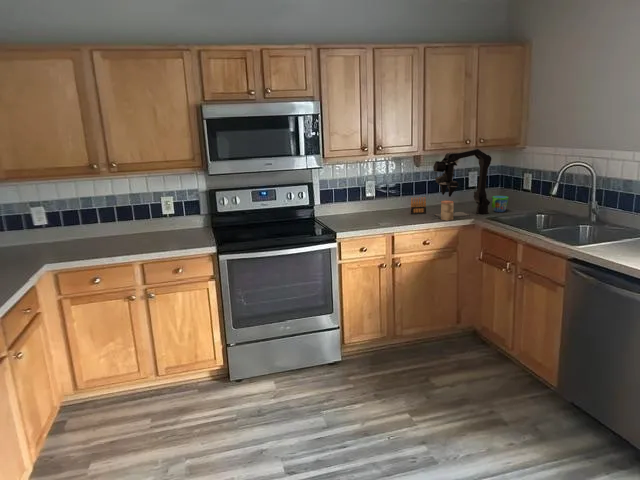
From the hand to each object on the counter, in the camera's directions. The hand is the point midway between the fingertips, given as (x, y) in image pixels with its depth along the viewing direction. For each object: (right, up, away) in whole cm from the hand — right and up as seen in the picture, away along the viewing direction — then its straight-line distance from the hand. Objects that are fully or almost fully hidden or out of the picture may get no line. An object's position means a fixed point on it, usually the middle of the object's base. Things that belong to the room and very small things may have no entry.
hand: (446, 195), depth 339 cm
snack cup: (+40, -10, +14) cm, 44 cm away
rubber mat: (+5, -13, +6) cm, 15 cm away
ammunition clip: (-15, -11, +18) cm, 26 cm away
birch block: (-1, -16, -5) cm, 17 cm away
